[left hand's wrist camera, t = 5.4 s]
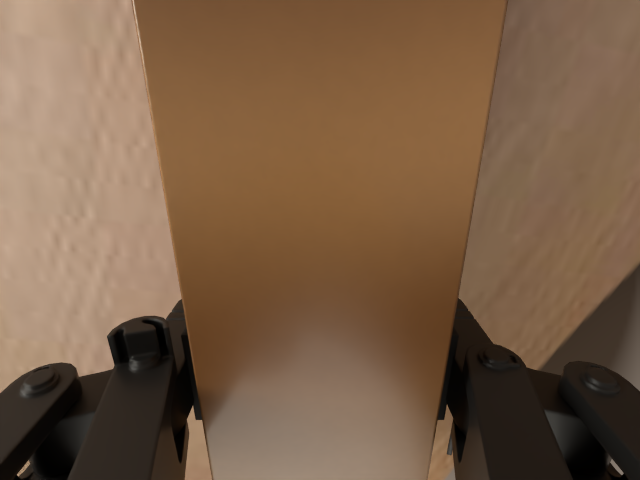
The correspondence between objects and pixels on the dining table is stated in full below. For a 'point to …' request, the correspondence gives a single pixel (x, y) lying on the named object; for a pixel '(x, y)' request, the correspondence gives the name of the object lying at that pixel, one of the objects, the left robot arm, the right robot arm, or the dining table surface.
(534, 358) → the dining table surface
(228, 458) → the bar
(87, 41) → the dining table surface
